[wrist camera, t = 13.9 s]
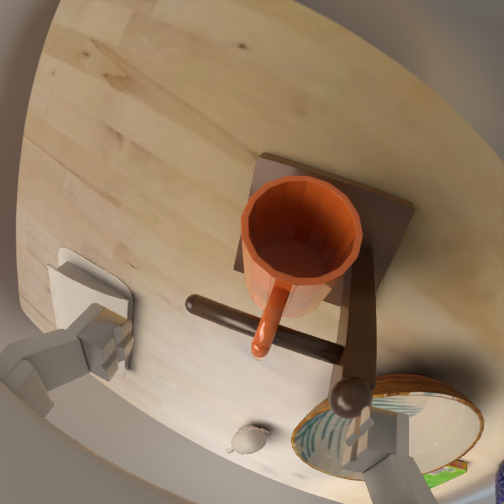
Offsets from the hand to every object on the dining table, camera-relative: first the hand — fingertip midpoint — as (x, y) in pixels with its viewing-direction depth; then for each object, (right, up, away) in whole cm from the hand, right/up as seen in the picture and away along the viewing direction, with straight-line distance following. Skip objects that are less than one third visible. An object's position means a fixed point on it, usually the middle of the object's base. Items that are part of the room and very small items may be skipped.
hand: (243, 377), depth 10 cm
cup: (+2, 0, +15) cm, 15 cm away
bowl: (+19, -17, +28) cm, 38 cm away
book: (-26, -6, +38) cm, 46 cm away
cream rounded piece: (0, -29, +42) cm, 51 cm away
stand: (+7, +6, +20) cm, 22 cm away
